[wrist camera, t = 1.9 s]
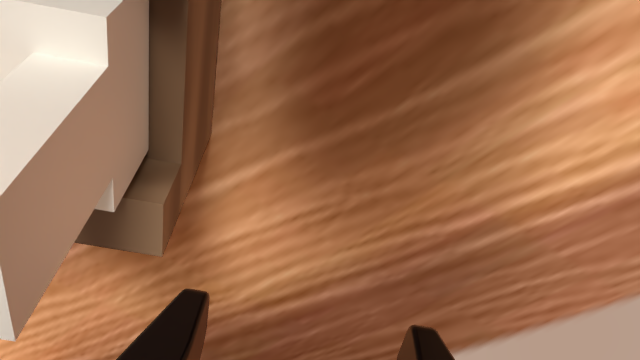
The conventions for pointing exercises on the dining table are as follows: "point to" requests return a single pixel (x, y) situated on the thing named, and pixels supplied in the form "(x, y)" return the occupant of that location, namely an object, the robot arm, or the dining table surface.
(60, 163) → the white offset block
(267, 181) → the dining table surface
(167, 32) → the launcher deck
